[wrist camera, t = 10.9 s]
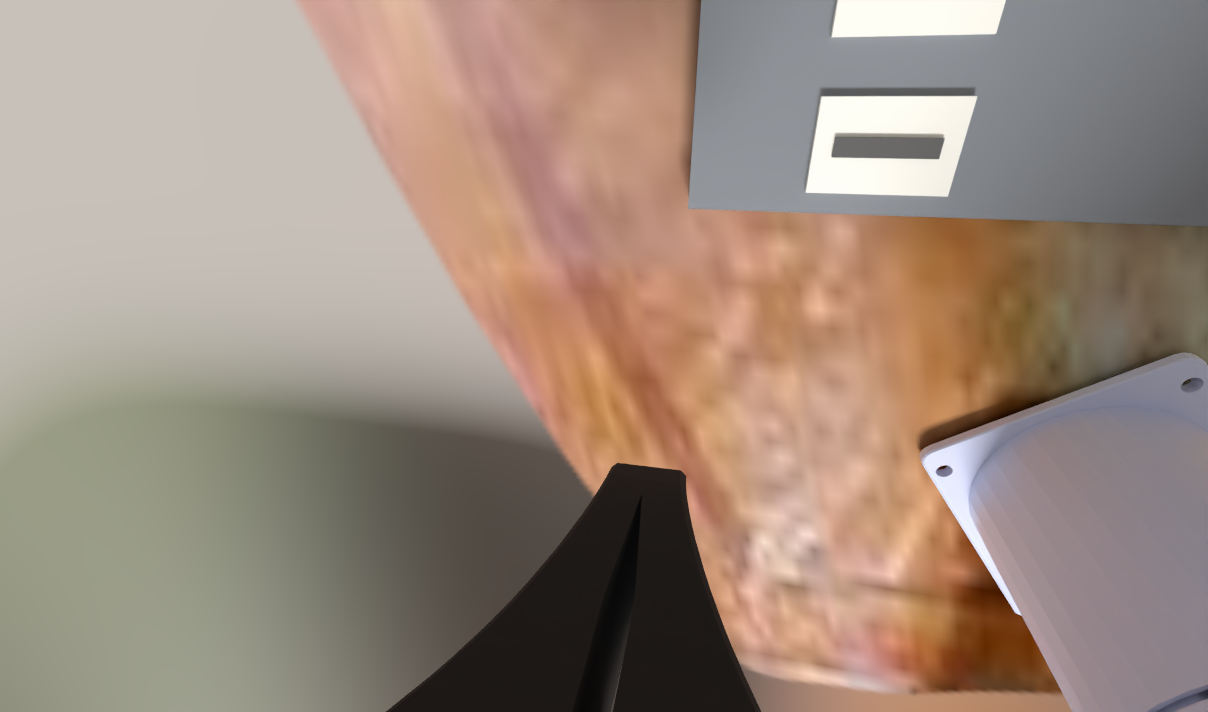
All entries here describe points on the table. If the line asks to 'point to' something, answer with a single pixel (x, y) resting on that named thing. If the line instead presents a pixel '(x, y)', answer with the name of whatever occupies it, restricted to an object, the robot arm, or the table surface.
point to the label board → (954, 109)
